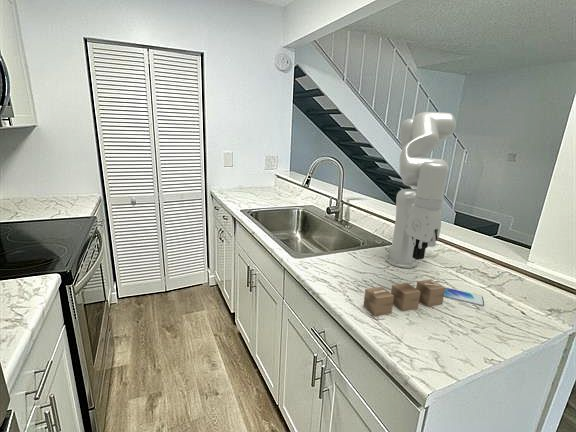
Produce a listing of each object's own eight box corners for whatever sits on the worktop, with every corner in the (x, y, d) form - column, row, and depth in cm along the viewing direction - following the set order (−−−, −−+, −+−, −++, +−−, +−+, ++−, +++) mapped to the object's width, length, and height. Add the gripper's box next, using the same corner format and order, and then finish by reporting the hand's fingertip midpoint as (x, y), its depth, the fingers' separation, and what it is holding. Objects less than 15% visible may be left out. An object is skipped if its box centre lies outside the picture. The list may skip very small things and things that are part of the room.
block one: (363, 306, 99) (365, 288, 97) (379, 303, 101) (381, 285, 99) (374, 316, 93) (377, 297, 92) (391, 313, 96) (394, 295, 94)
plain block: (389, 301, 102) (392, 285, 101) (404, 299, 104) (407, 282, 103) (402, 311, 97) (404, 294, 95) (417, 308, 99) (420, 291, 97)
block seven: (414, 297, 106) (417, 280, 104) (428, 295, 108) (431, 278, 106) (427, 307, 100) (431, 289, 99) (442, 304, 102) (445, 287, 101)
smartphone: (484, 305, 102) (434, 293, 108) (484, 308, 102) (433, 295, 109) (483, 295, 108) (435, 284, 115) (482, 298, 108) (435, 286, 115)
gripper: (401, 197, 101) (393, 250, 107) (436, 210, 88) (425, 270, 93) (420, 196, 104) (411, 248, 109) (457, 209, 90) (445, 267, 96)
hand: (417, 258), depth 101 cm, fingers closed
